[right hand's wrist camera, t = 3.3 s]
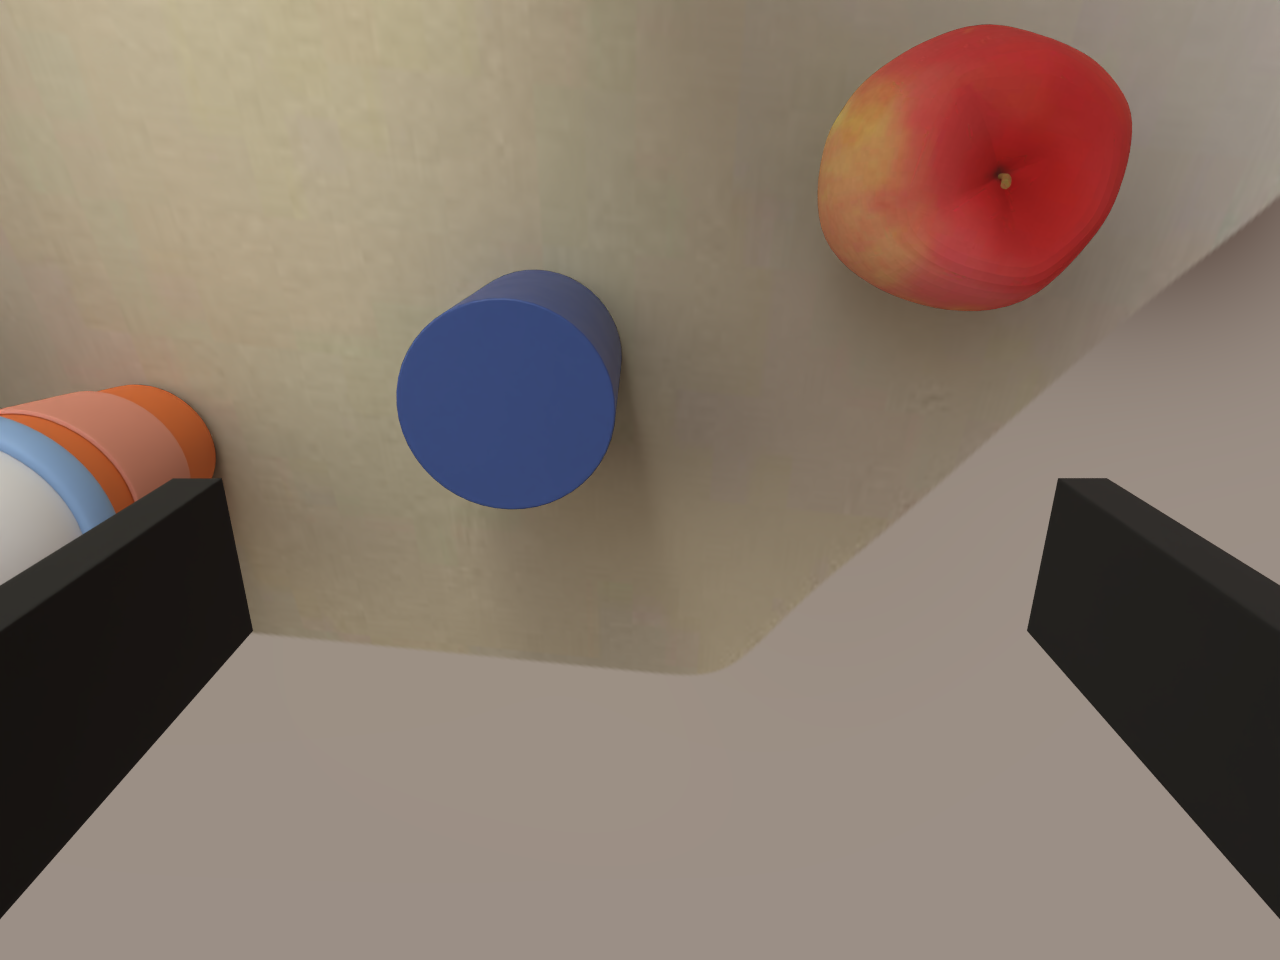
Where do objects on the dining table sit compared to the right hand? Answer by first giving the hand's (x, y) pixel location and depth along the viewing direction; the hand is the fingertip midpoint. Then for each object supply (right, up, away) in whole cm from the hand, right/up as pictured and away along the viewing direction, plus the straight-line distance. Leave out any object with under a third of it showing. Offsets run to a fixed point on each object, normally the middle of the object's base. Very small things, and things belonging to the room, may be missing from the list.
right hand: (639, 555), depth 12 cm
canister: (-5, +7, +23) cm, 25 cm away
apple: (+12, +14, +21) cm, 27 cm away
